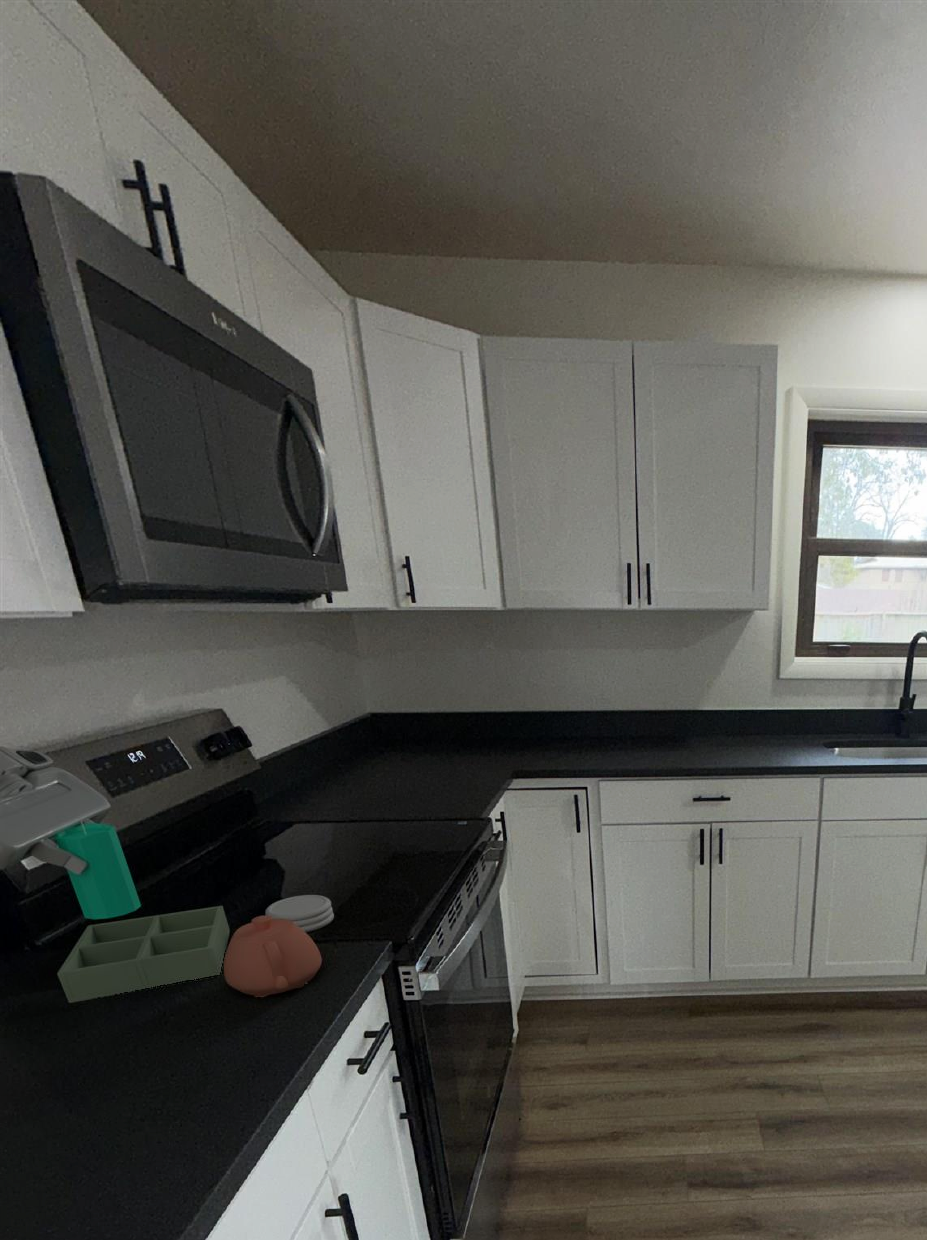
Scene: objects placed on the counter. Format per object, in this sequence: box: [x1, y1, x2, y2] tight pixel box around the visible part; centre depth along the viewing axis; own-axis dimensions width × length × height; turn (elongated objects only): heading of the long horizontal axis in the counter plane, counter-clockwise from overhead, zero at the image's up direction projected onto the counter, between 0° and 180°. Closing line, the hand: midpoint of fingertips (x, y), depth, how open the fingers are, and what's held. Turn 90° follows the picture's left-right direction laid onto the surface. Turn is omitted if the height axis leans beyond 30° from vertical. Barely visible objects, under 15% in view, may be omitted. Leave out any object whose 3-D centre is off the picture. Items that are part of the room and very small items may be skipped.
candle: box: [54, 818, 142, 920], centre depth 92 cm, size 6×6×12 cm
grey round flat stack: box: [265, 894, 335, 933], centre depth 127 cm, size 10×10×4 cm
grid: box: [56, 905, 231, 1004], centre depth 113 cm, size 18×18×5 cm
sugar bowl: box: [223, 915, 323, 998], centre depth 105 cm, size 12×14×10 cm
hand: (100, 860), depth 92 cm, fingers closed on candle, 5 cm apart
